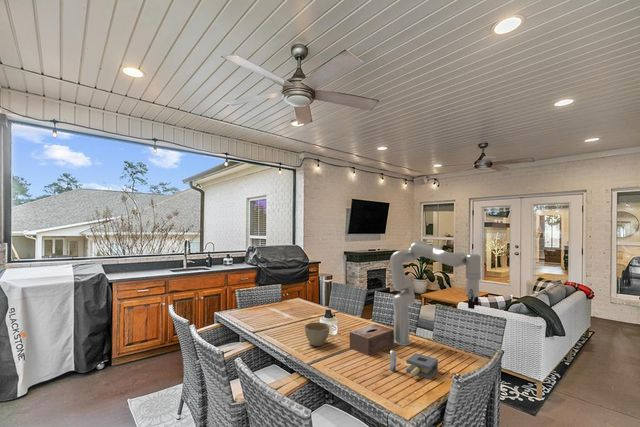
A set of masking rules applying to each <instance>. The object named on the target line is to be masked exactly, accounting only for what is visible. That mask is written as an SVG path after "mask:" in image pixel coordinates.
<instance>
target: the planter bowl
mask: <svg viewBox="0 0 640 427" xmlns="http://www.w3.org/2000/svg"><path fill="white" fill-rule="evenodd" d="M330 328H331V327H330V325H329V324H328V323H325V322H316V321H315V322H309V323H306V324H305V325H304V333H305V336H306V339H307V341H308V342H309V345H310V346H315V347H320V346H323V345H324V344H326V343H325V342H326V341H327V339H328V337H329V335H330Z"/></svg>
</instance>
